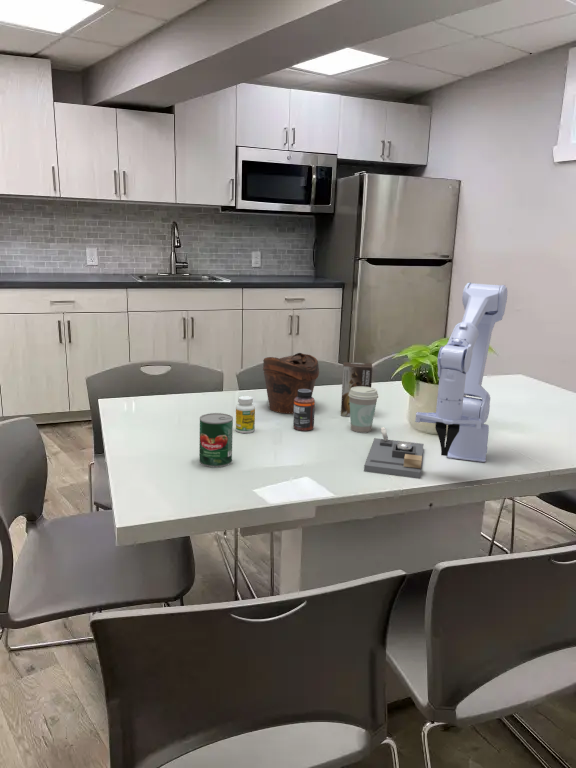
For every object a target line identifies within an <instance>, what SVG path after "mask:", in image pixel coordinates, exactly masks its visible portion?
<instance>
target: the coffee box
mask: <svg viewBox="0 0 576 768" xmlns="http://www.w3.org/2000/svg"><path fill="white" fill-rule="evenodd" d="M372 381H373V364H372V362H371V363H370V362H354V361H353V362H349V361H348V362H347V361H343V365H342V382H341V383H342V385H341V403H340V416H341V417H350V399H349V392H350V389H351V388H352V387H357V386H364V387H371V388H372Z"/></svg>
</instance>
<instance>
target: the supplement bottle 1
mask: <svg viewBox="0 0 576 768" xmlns="http://www.w3.org/2000/svg"><path fill="white" fill-rule="evenodd" d="M237 400H238V401H237V402H238V404H237V405H235V431H236V432H237V433H241V434H250V433H253V432H254V431H255V429H256V428H255V427H256V425H255V424H256V423H255V420H256V419H255V417H256V407H255V406H256V405H254V404H253V401H254V398H253V397H252V396H250V395H249V396H248V395H241V396H239V397H238V399H237Z"/></svg>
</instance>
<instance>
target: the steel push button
mask: <svg viewBox="0 0 576 768" xmlns="http://www.w3.org/2000/svg"><path fill="white" fill-rule="evenodd" d="M400 441H401V440H400ZM409 442H410V441H401V442H398V443H397V450H398V451H407V452H411V451H412V444H411V443H409Z"/></svg>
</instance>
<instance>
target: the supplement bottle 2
mask: <svg viewBox="0 0 576 768" xmlns="http://www.w3.org/2000/svg"><path fill="white" fill-rule="evenodd" d="M311 395H312V396H311ZM315 401H316V400H315V398H314V397H313V393H312V391H311V390H309V389H299V390H298V396H297V397H296V398H295V399H294V414H293V421H292V422H293V423H292V425H293V428H294V430H296V431H301V432H307V431H311V430H313V429H314V428H315V426H314V425H315V405H316V404H315Z"/></svg>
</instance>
